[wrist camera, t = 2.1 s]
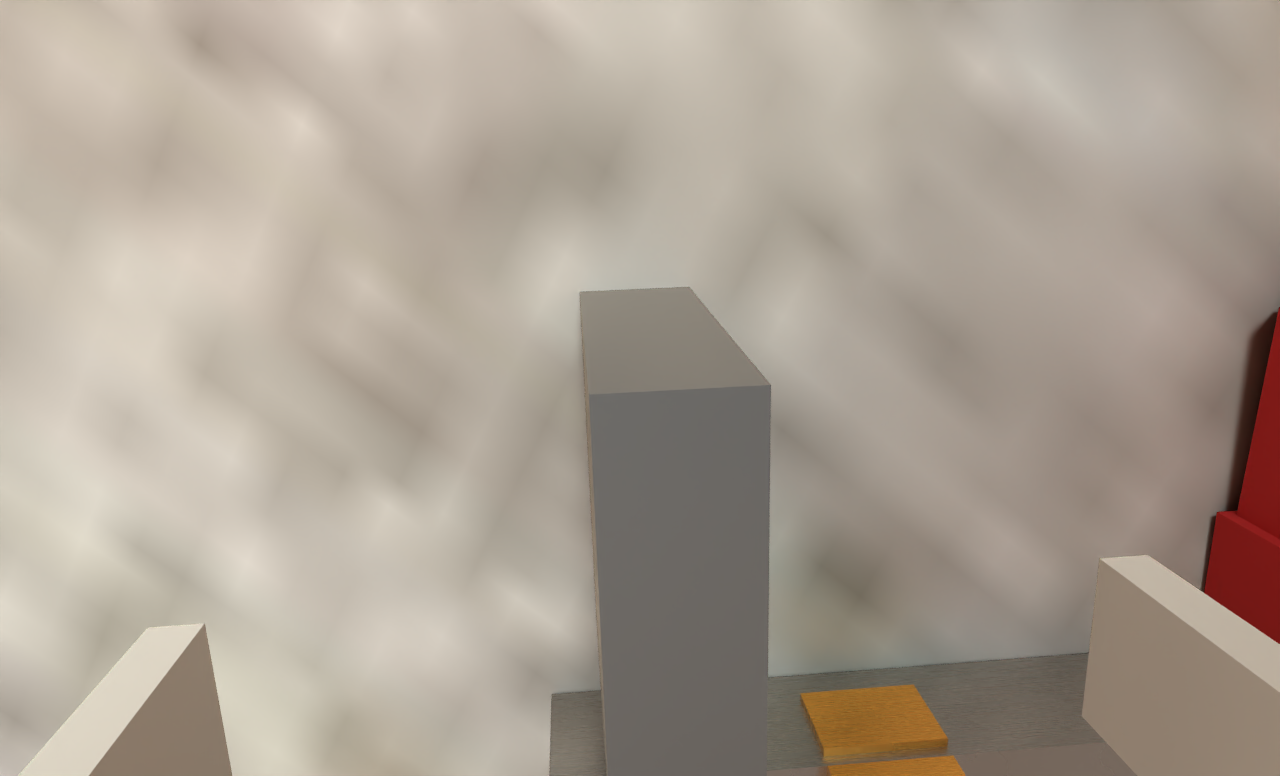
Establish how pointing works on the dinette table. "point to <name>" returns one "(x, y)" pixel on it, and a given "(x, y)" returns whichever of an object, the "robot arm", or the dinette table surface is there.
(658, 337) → the panel
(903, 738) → the rack
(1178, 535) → the dinette table surface
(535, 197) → the dinette table surface
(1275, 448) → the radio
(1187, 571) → the dinette table surface
